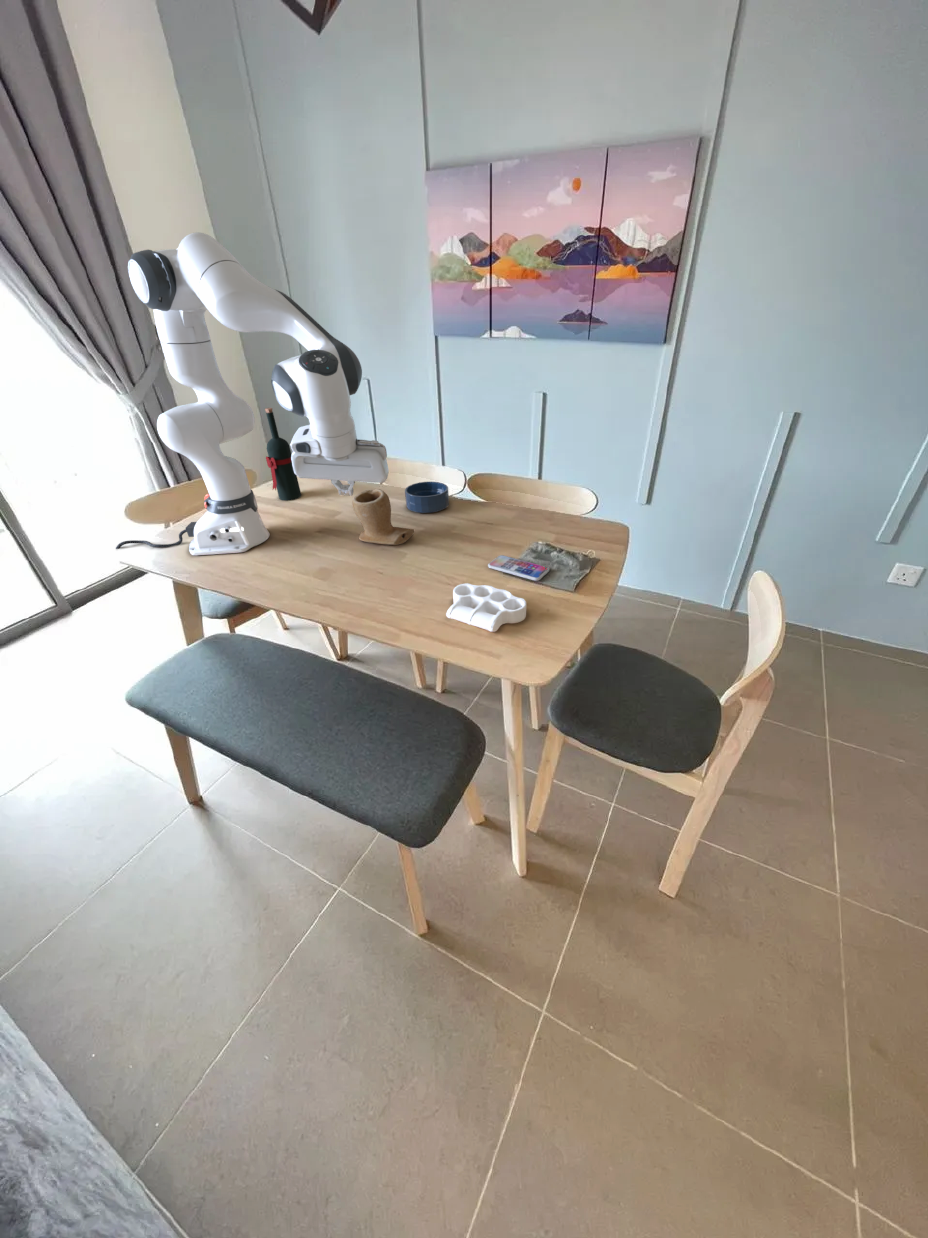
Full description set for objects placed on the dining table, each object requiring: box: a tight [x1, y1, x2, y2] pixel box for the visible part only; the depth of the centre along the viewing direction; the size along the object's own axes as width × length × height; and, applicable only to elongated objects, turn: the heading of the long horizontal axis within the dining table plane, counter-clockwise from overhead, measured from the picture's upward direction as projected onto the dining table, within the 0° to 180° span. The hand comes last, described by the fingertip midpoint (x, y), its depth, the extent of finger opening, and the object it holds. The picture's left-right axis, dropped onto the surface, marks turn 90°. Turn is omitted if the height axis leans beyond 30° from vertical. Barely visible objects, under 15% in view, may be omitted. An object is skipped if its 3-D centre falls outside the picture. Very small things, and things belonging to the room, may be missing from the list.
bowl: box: [404, 481, 450, 514], centre depth 164 cm, size 14×14×6 cm
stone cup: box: [351, 488, 415, 546], centre depth 140 cm, size 15×12×15 cm
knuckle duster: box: [445, 582, 527, 633], centre depth 111 cm, size 3×18×15 cm
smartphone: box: [487, 554, 550, 582], centre depth 127 cm, size 7×1×15 cm
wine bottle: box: [264, 407, 302, 502], centre depth 168 cm, size 8×10×30 cm
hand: (346, 493), depth 112 cm, fingers closed
